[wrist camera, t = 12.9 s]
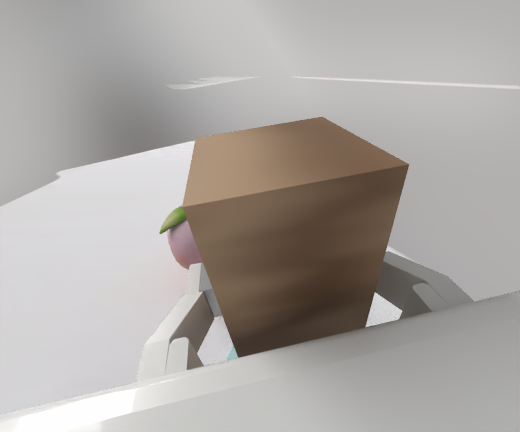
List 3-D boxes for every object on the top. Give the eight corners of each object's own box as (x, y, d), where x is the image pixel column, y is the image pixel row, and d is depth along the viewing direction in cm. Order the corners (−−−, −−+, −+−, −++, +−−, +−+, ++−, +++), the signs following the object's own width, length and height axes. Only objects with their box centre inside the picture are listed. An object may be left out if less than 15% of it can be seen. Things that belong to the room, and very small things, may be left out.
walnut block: (253, 398, 11) (182, 206, 5) (242, 306, 15) (195, 138, 9) (352, 373, 12) (408, 164, 5) (316, 290, 16) (322, 116, 9)
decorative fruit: (231, 229, 34) (216, 164, 28) (269, 259, 28) (260, 185, 22) (169, 265, 29) (136, 196, 23) (201, 308, 24) (167, 232, 18)
